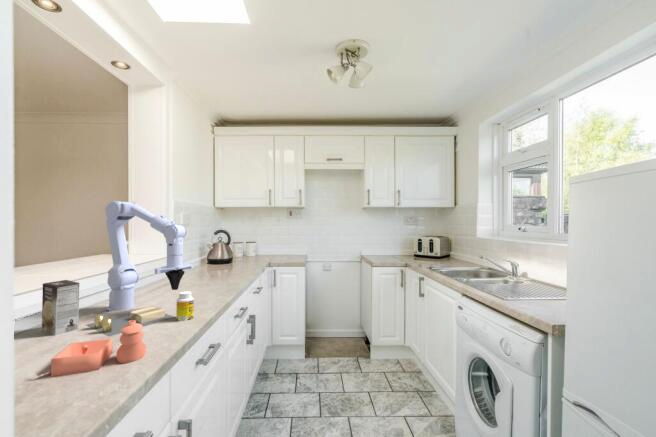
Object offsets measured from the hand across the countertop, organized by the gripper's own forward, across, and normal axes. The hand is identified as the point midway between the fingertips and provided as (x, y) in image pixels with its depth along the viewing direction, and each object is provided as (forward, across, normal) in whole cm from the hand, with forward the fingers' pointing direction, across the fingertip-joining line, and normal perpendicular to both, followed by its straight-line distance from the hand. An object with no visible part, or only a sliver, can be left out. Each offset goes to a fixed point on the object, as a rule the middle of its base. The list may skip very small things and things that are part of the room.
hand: (174, 289), depth 114 cm
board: (+9, -14, +1) cm, 17 cm away
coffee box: (+9, -31, +12) cm, 34 cm away
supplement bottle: (+9, -3, -12) cm, 15 cm away
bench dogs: (+8, -24, 0) cm, 25 cm away
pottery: (+10, -32, -23) cm, 40 cm away
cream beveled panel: (+8, -10, 0) cm, 13 cm away
